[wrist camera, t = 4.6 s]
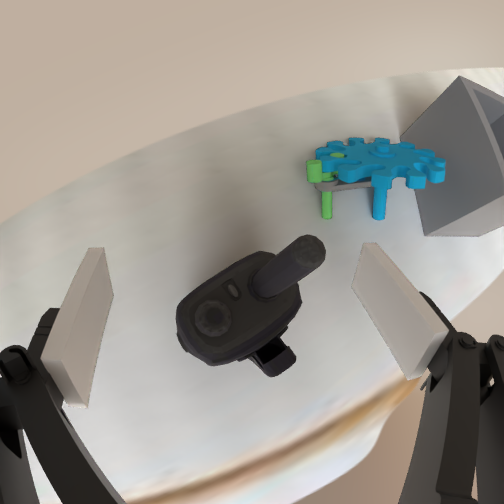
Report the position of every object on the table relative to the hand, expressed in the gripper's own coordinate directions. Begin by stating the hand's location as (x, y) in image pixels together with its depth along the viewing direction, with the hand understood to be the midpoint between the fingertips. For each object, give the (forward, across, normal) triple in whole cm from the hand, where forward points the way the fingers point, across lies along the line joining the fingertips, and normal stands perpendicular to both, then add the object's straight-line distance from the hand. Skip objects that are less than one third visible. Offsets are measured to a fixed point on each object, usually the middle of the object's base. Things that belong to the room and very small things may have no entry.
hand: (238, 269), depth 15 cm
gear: (+11, +11, +1) cm, 15 cm away
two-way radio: (+3, 0, -6) cm, 7 cm away
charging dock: (+11, +21, +1) cm, 24 cm away
